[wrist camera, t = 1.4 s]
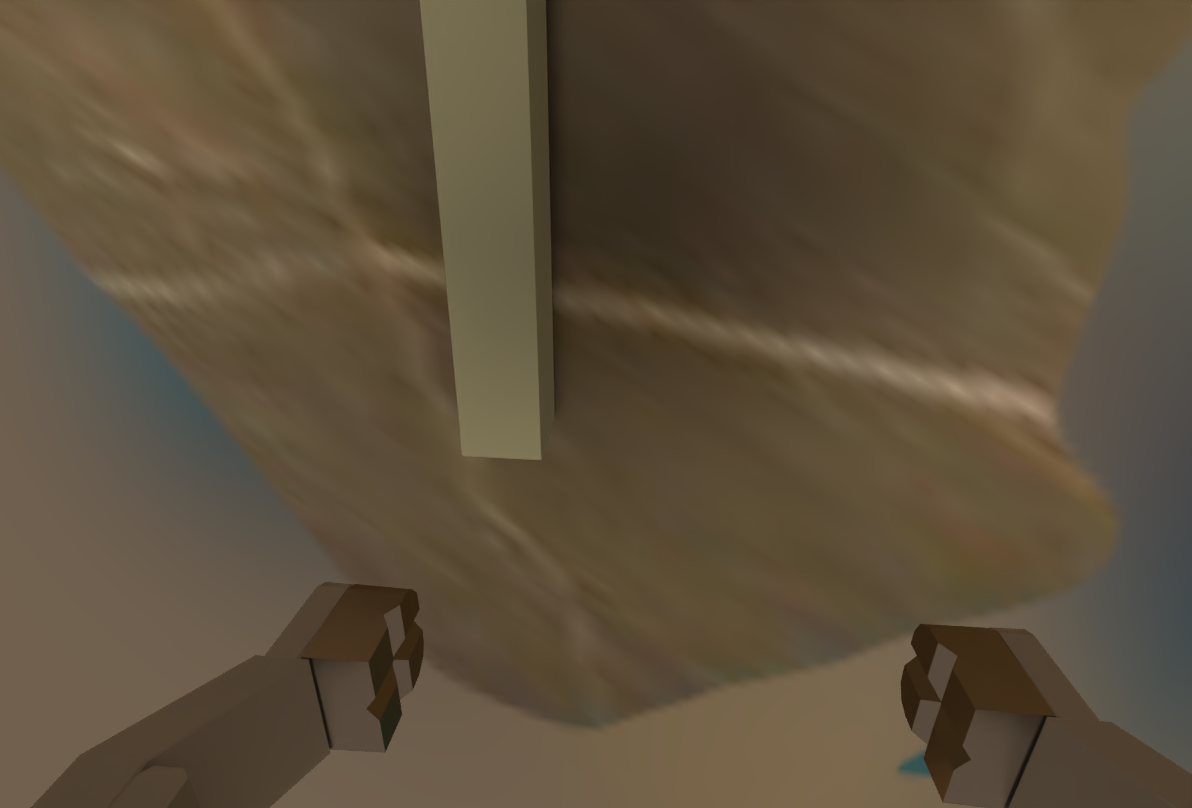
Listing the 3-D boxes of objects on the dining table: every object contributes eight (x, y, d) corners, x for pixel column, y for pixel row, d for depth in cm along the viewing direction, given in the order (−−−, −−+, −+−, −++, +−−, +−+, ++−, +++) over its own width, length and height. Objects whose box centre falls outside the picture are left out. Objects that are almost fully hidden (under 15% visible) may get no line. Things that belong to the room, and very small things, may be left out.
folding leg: (442, -178, 21) (384, -259, 17) (544, -181, 21) (514, -264, 17) (485, 414, 31) (456, 464, 26) (556, 417, 31) (539, 468, 26)
